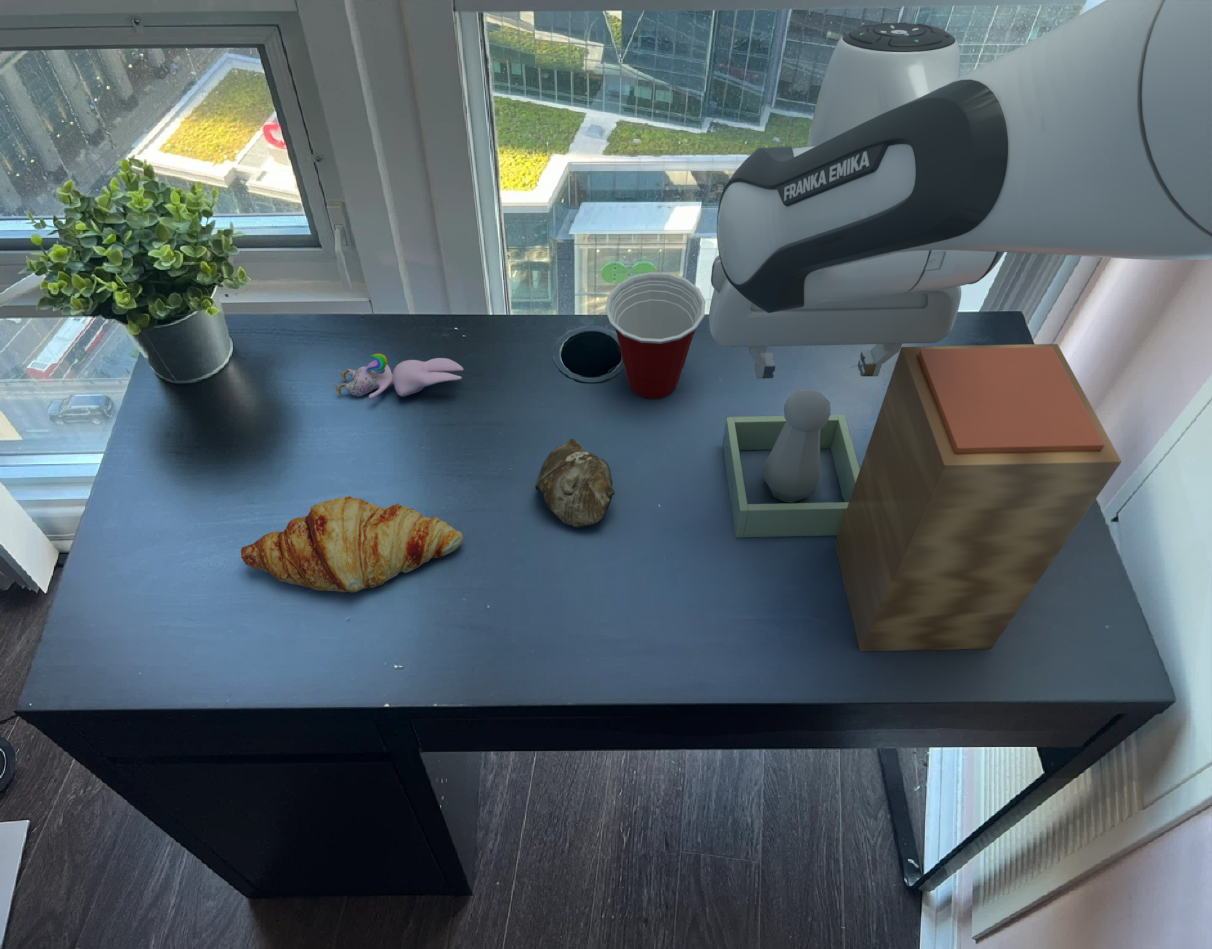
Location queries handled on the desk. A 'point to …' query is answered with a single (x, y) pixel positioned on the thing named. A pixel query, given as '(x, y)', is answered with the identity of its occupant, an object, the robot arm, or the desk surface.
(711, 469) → the desk surface
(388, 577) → the croissant
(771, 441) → the holder
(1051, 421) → the coaster
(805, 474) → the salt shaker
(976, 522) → the block
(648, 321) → the plastic cup
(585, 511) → the fossilized seashell
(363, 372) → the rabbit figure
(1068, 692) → the desk surface
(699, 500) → the desk surface
